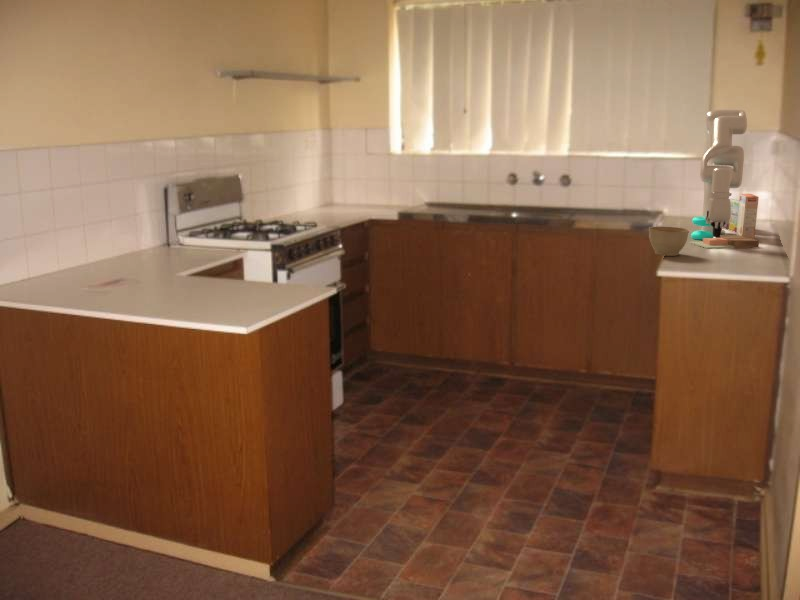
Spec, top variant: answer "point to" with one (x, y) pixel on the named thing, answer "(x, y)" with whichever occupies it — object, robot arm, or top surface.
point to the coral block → (715, 241)
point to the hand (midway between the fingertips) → (716, 236)
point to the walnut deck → (740, 241)
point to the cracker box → (747, 215)
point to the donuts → (701, 234)
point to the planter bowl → (668, 240)
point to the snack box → (733, 216)
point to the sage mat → (711, 245)
